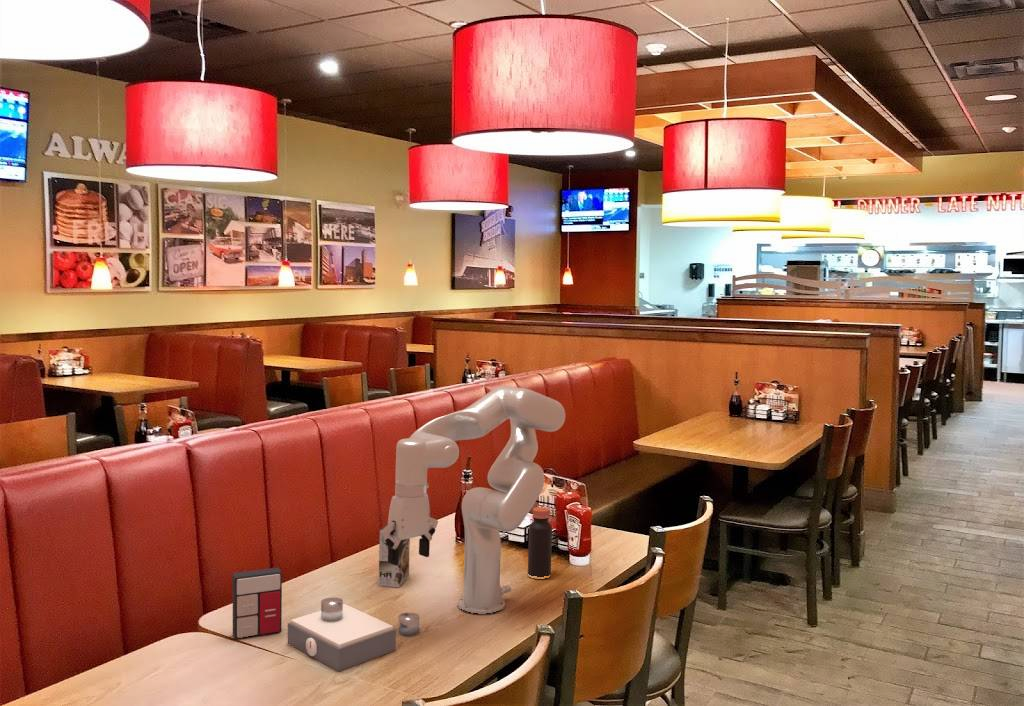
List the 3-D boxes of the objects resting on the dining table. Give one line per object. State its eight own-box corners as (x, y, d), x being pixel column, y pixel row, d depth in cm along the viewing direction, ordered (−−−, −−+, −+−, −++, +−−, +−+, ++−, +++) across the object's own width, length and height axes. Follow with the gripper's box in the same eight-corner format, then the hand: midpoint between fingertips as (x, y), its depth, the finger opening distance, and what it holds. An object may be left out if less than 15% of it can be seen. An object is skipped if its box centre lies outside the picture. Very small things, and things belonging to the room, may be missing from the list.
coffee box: (399, 588, 242) (400, 531, 241) (377, 586, 244) (378, 529, 242) (410, 577, 251) (411, 522, 250) (388, 575, 252) (389, 520, 251)
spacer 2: (409, 626, 216) (410, 611, 216) (423, 632, 213) (423, 616, 212) (394, 632, 212) (394, 616, 212) (407, 638, 209) (407, 622, 209)
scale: (343, 625, 215) (344, 602, 215) (395, 650, 202) (395, 626, 201) (285, 644, 203) (285, 620, 203) (336, 672, 190) (336, 646, 189)
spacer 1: (334, 612, 209) (334, 595, 208) (347, 617, 205) (347, 601, 205) (316, 617, 205) (316, 601, 205) (329, 623, 202) (329, 606, 201)
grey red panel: (235, 640, 205) (235, 578, 203) (231, 634, 208) (232, 573, 207) (282, 633, 210) (282, 572, 208) (278, 626, 213) (278, 567, 212)
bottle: (554, 575, 256) (557, 508, 255) (543, 581, 251) (545, 513, 249) (535, 570, 260) (537, 505, 258) (523, 577, 254) (525, 509, 252)
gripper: (427, 482, 218) (425, 549, 219) (372, 492, 206) (370, 563, 207) (447, 487, 213) (445, 556, 214) (392, 498, 201) (390, 571, 202)
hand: (408, 559), depth 211 cm, fingers open, 9 cm apart
